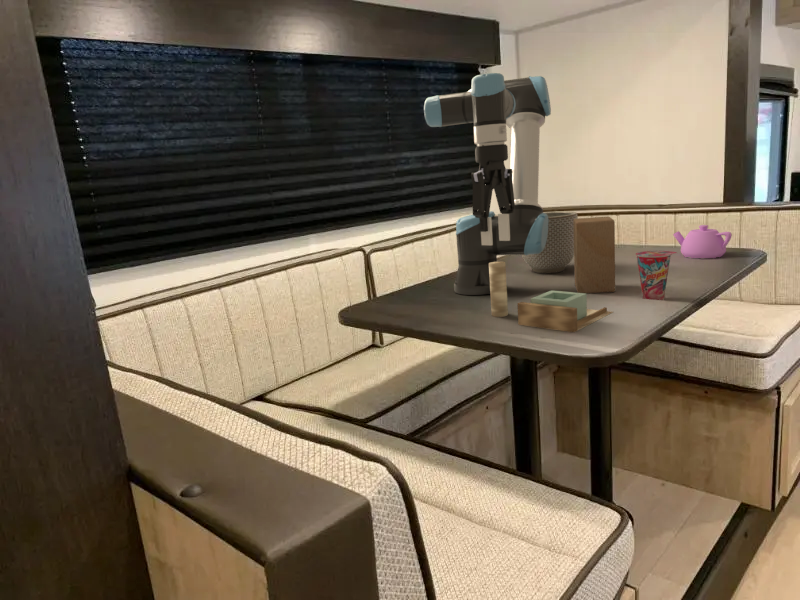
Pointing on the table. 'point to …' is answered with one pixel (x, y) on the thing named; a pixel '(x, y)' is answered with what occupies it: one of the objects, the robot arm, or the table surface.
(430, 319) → the table surface
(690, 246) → the teapot
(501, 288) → the dowel
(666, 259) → the cup
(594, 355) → the table surface
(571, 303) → the pale green hollow block
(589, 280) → the wooden block
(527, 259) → the planter
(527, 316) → the rail board
